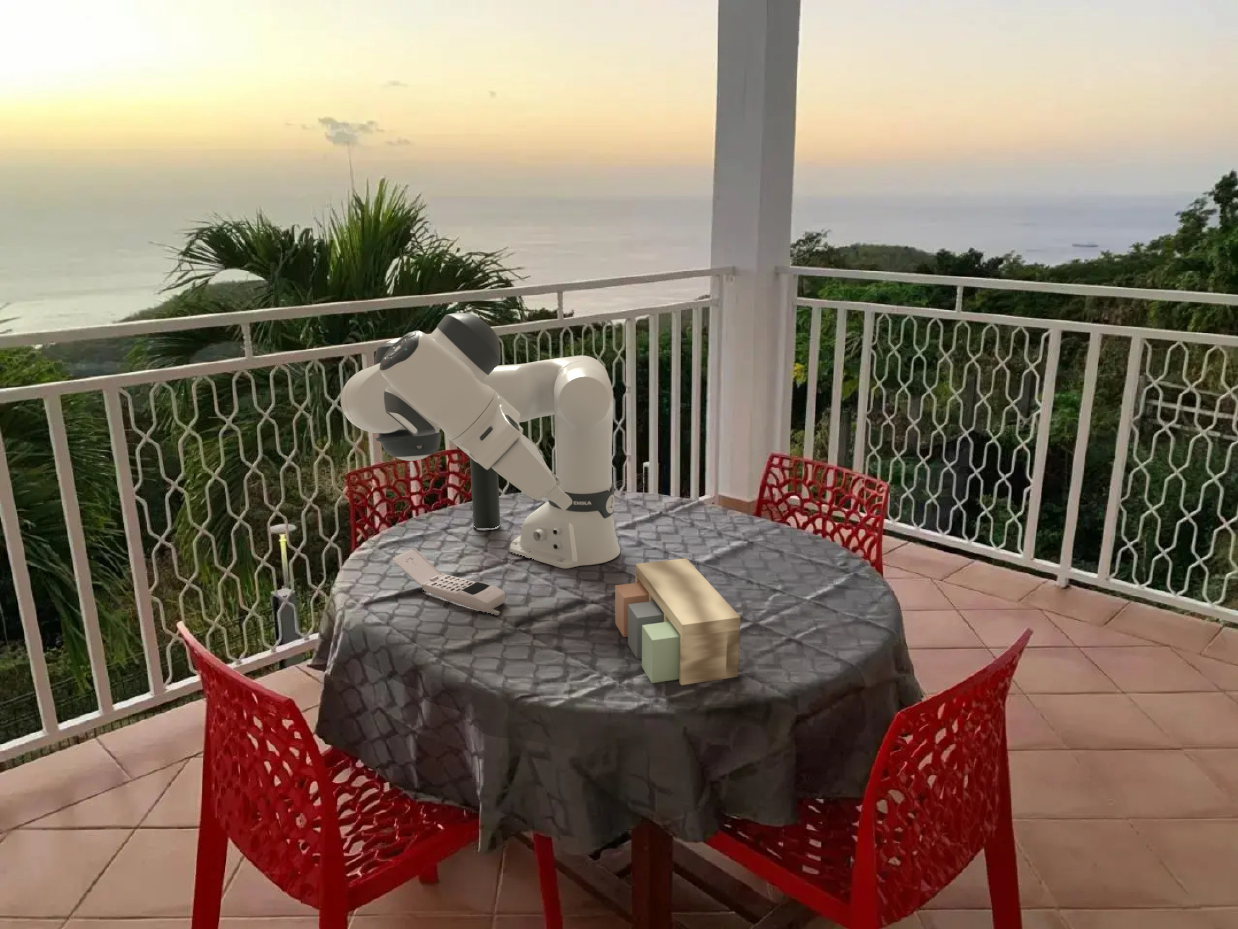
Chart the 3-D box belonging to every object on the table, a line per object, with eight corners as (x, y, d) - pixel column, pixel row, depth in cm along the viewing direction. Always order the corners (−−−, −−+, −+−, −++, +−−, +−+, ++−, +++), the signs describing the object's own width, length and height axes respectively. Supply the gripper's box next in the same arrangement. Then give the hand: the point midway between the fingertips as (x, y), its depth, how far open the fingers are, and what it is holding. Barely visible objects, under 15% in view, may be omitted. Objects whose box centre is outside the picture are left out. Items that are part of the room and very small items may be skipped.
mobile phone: (413, 547, 171) (515, 576, 157) (415, 576, 172) (517, 607, 159) (389, 558, 166) (492, 588, 152) (391, 587, 167) (494, 620, 154)
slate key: (637, 659, 140) (637, 618, 138) (627, 644, 145) (627, 604, 143) (679, 653, 142) (680, 612, 140) (669, 638, 147) (670, 599, 145)
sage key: (651, 683, 133) (652, 640, 131) (641, 666, 138) (642, 625, 136) (696, 676, 135) (697, 634, 133) (685, 660, 140) (686, 619, 138)
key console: (681, 686, 133) (682, 624, 130) (635, 618, 154) (635, 563, 151) (738, 678, 135) (740, 617, 132) (685, 611, 157) (686, 558, 154)
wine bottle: (505, 526, 197) (500, 391, 188) (485, 533, 193) (479, 395, 184) (488, 520, 201) (482, 387, 192) (468, 527, 197) (461, 391, 188)
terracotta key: (623, 637, 147) (623, 597, 145) (615, 623, 152) (615, 585, 150) (664, 631, 149) (664, 592, 147) (655, 618, 154) (655, 580, 152)
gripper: (467, 429, 130) (536, 490, 135) (478, 465, 111) (558, 535, 116) (497, 397, 130) (565, 459, 135) (513, 428, 111) (592, 499, 116)
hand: (562, 494), depth 125 cm, fingers open, 8 cm apart
